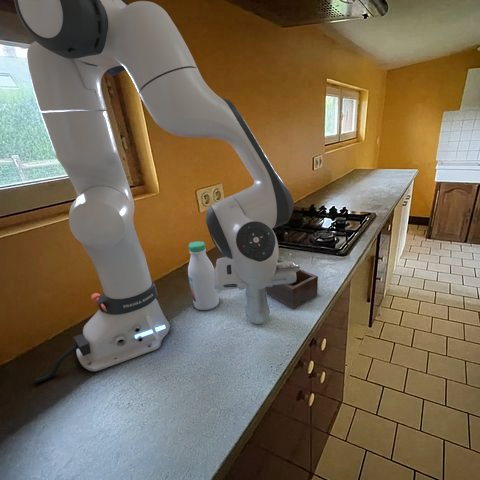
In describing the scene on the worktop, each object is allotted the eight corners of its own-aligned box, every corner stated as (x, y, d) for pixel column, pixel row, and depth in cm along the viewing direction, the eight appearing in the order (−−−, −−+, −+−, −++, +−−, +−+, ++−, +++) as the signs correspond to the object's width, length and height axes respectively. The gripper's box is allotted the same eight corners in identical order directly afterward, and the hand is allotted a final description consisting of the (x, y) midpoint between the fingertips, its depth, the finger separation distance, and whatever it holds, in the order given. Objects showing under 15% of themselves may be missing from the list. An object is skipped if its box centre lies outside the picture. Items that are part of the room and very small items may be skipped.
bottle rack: (293, 309, 89) (292, 289, 86) (250, 285, 103) (248, 267, 99) (317, 295, 95) (318, 276, 92) (273, 274, 109) (273, 257, 106)
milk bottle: (223, 298, 96) (215, 239, 86) (212, 312, 89) (202, 250, 80) (201, 296, 98) (191, 238, 88) (189, 309, 91) (176, 248, 82)
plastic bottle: (267, 328, 82) (263, 261, 72) (243, 325, 83) (236, 259, 74) (272, 314, 87) (269, 250, 78) (249, 312, 88) (244, 249, 79)
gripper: (299, 251, 69) (292, 270, 82) (209, 259, 67) (216, 277, 80) (303, 277, 67) (295, 293, 81) (210, 286, 65) (218, 300, 79)
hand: (255, 285), depth 81 cm, fingers closed on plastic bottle, 6 cm apart
